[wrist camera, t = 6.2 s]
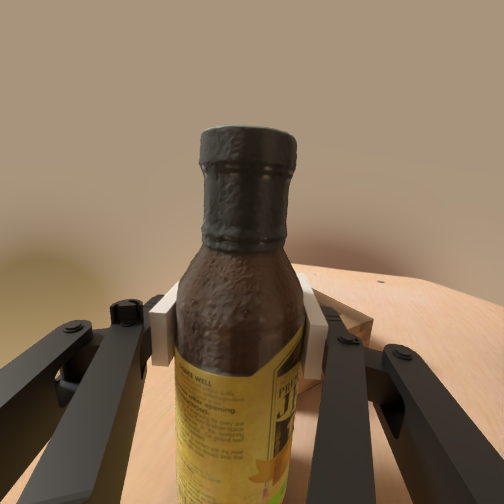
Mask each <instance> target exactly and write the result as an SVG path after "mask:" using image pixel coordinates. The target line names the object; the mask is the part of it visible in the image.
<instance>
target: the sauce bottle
mask: <svg viewBox="0 0 504 504" xmlns="http://www.w3.org/2000/svg"><path fill="white" fill-rule="evenodd" d="M296 151H297V142H296V140H295V138H294V137H293V136H292V135H290V134H288V133H287V132H285V131H281V130H278V129H274V128H269V127H262V126H251V125H223V126H220V127H211V128H209V129H206V130H204V131H203V133H202V135H201V146H200V159H199V165H200V167H201V170H202V172H203V175H204V224H203V225H202V227H201V229H202V242H203V244H202V246H201V248H200V250H199V252H198V253H197V254H196V256H195V257H194V259H193V260H192V261H191V263H190V265H189V267H188V269H187V271H186V272H185V273H184V275H183V276H182V278H181V279H180V281H179V284H178V290H177V298H176V316H177V321H176V322H177V327H176V328H177V334H176V335H175V341H174V353H175V419H176V476H177V493H178V499H179V502H180V504H282V502H283V499H284V496H285V492H286V488H287V480H288V471H289V462H290V453H291V445H292V434H293V430H294V419H295V412H296V402H297V394H298V385H299V374H300V372H299V368H300V359H301V350H302V341H303V334H304V324H305V315H306V312H305V307H304V300H303V290H302V287H301V284H300V281H299V279H298V277H297V275H296V273H295V271H294V269H293V267H292V265H291V263H290V261H289V259H288V257H287V255H286V253H285V251H284V249H283V246H284V244H285V239H286V237H287V228H286V217H287V207H288V192H289V185H290V181H291V179H292V177H293V173H294V171H295V168H296V159H297V153H296Z"/></svg>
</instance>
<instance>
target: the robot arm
mask: <svg viewBox="0 0 504 504" xmlns="http://www.w3.org/2000/svg"><path fill="white" fill-rule="evenodd" d="M296 275H297V277H298V279H299V281H300V284H301V287H302V290H303V300H304V307H305V312H306V315H305V324H304V334H303V341H302V350H301V359H300V362H301V368H302V373H303V378H304V379H315V380H321V374H322V371H323V374H324V382H323V389H322V395H321V403H320V410H319V417H318V423H317V430H316V437H315V444H314V451H313V458H312V465H311V472H310V479H309V485H308V492H307V499H306V504H376V495H375V483H374V471H373V459H372V446H371V434H370V422H369V410H368V401H371V402H373V405H374V408H375V410H376V413H377V415H378V418H379V420H380V423H381V425H382V428H383V430H384V433H385V435H386V438H387V440H388V442H389V445H390V447H391V450H392V452H393V455H394V457H395V460H396V462H397V465H398V467H399V470H400V472H401V475H402V477H403V480H404V482H405V484H406V487H407V489H408V492H409V494H410V497H411V499H412V502H413V504H504V460H503V458H502V457H501V456H500V455H499V453H498V452H497V451H496V450H495V448H494V447H493V446H492V445H491V443H490V442H489V441H488V440H487V439H486V437H485V436H484V435H483V434H482V432H481V431H480V430H479V429H478V427H477V426H476V425H475V424H474V422H473V421H472V420H471V419H470V417H469V416H468V415H467V414H466V412H465V411H464V410H463V409H462V408H461V406H460V405H459V404H458V403H457V401H456V400H455V399H454V398H453V396H452V395H451V394H450V393H449V391H448V390H447V389H446V388H445V386H444V385H443V384H442V383H441V381H440V380H439V379H438V378H437V377H436V375H435V374H434V373H433V372H432V370H431V369H430V368H429V367H428V365H427V364H426V363H425V362H424V360H423V359H422V358H421V357H420V356H419V355H418V354H417V353H416V352H415V351H413V350H411V349H410V348H408V347H405V346H403V345H397V344H388V345H385V347H384V350H383V352H380V351H376V350H373V349H369V348H366V347H364V346H363V342H362V340H361V339H360V338H359V337H357V336H356V335H354V334H352V333H349V331H348V330H347V328H346V326H345V324H344V323H343V322H342V319H341V317H340V316H339V314H338V312H337V311H336V310H335V309H333V308H332V307H329V306H319V304H318V302H317V299H316V297H315V295H314V293H313V290H312V288H311V286H310V284H309V282H308V279H307V277H306V275H305V274H300V273H296ZM179 281H180V280H179ZM179 281H178V282H177V283H176V284H175V285H174V286H173V287H172V288H171V290H170V291H169V292H168V293H167V294H166V295H157V296H155V297H152V298H151V299H150V300H149V301H148V302H147V303H145V305H143V303H142V301H140V300H137V299H127V300H122V301H118V302H116V303H114V304H112V305H111V306H110V314H111V326H110V328H105V329H96V330H92V324H91V322H90V321H86V320H74V321H70V322H68V323H65V324H63V325H61V326H59V327H57V328H56V329H55V330H53V331H52V332H51V333H49V334H48V335H47V336H45V337H44V338H43V339H41V340H40V341H38V342H37V343H36V344H34V345H33V346H32V347H30V348H29V349H27V350H26V351H25V352H23V353H22V354H21V355H19V356H18V357H16V358H15V359H14V360H12V361H11V362H10V363H8V364H7V365H6V366H4V367H3V368H1V369H0V502H1V501H2V499H3V498H4V497H5V496H6V494H7V493H8V492H9V490H10V489H11V488H12V487H13V485H14V484H15V483H16V482H17V480H18V479H19V478H20V476H21V475H22V474H23V473H24V471H25V470H26V469H27V468H28V466H29V465H30V464H31V462H32V461H33V460H34V459H35V457H36V456H37V455H38V454H39V452H40V451H41V450H42V449H43V447H44V446H45V445H46V443H47V442H48V441H49V440H50V441H49V443H48V445H47V447H46V449H45V450H44V452H43V454H42V456H41V458H40V460H39V462H38V464H37V466H36V467H35V469H34V471H33V473H32V475H31V477H30V479H29V481H28V483H27V484H26V486H25V488H24V490H23V492H22V494H21V496H20V498H19V500H18V501H17V503H16V504H120V500H121V495H122V490H123V485H124V480H125V476H126V471H127V466H128V461H129V456H130V451H131V446H132V441H133V437H134V432H135V427H136V422H137V417H138V412H139V407H140V402H141V398H142V393H143V388H144V383H145V378H146V373H147V360H148V359H149V357H150V356H151V357H152V365H155V366H166V367H168V366H169V364H170V362H171V360H172V359H173V357H174V355H175V353H174V341H175V335H176V334H177V328H176V327H177V322H176V321H177V316H176V298H177V290H178V284H179ZM59 369H60V375H59V376H58V377H57V378H56V379H55V376H56V374H57V372H58V370H59ZM50 438H51V439H50Z"/></svg>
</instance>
